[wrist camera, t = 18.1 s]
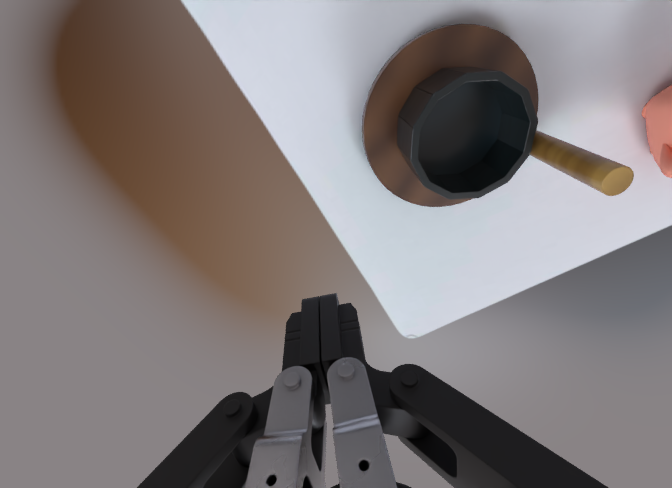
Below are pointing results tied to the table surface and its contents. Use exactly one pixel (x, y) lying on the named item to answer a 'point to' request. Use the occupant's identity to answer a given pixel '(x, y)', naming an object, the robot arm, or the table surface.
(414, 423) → the robot arm
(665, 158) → the teapot
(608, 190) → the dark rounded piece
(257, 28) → the table surface
